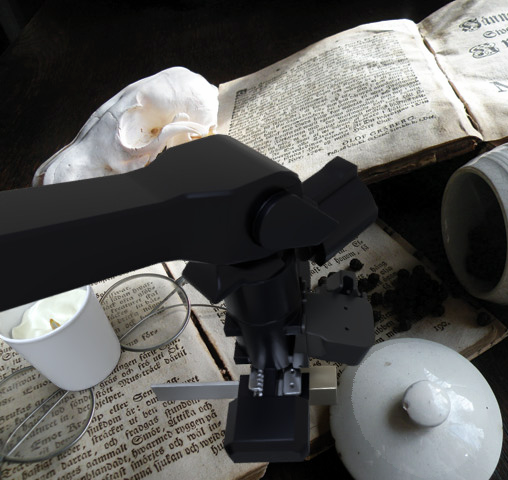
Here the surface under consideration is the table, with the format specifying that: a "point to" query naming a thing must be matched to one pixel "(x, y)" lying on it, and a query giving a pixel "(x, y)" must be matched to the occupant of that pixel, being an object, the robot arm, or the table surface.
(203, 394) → the knife
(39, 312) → the candle holder
